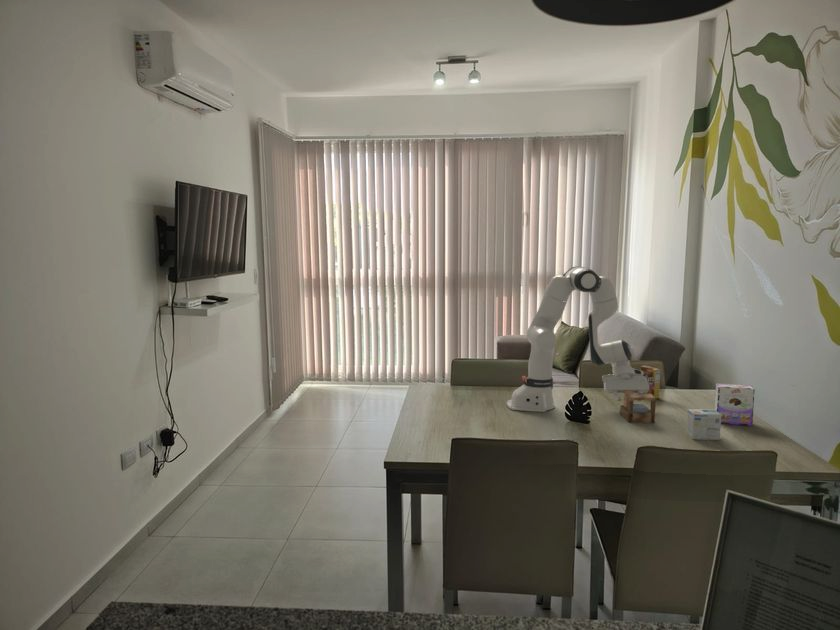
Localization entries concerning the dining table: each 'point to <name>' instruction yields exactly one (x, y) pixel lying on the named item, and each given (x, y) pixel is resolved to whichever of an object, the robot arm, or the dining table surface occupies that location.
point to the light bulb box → (703, 424)
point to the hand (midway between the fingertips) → (629, 400)
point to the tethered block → (636, 407)
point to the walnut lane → (639, 417)
